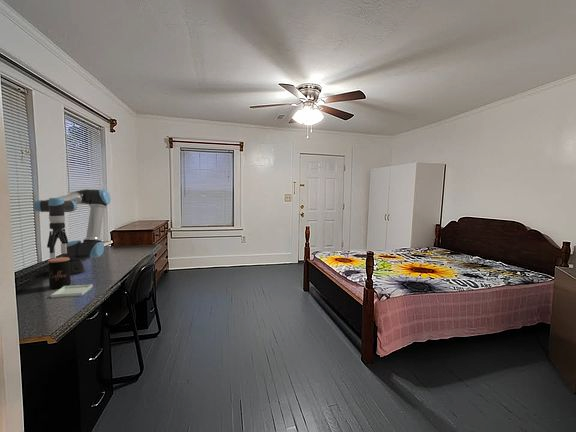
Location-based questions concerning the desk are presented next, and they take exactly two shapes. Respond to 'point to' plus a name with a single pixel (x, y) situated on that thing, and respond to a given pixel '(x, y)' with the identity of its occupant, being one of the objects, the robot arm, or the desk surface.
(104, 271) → the desk surface
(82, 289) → the sage tray
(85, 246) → the robot arm
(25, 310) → the desk surface
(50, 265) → the coffee jar
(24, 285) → the desk surface
